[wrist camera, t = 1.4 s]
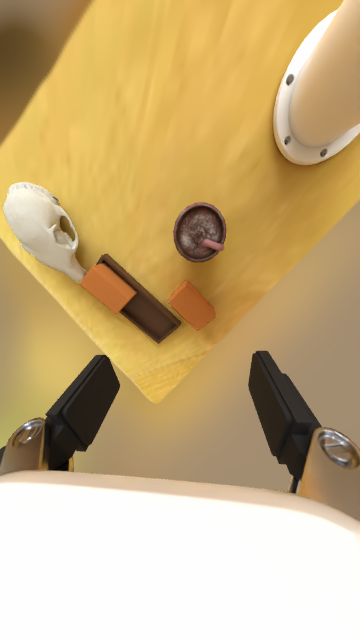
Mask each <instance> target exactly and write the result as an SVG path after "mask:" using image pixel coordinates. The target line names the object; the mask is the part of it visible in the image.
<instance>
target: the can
mask: <svg viewBox="0 0 360 640" xmlns="http://www.w3.org/2000/svg"><path fill="white" fill-rule="evenodd" d="M173 233H174V242H175V245H176V248H177V250H178V251H179V253H180V254H181V256H183V257H184V258H185V259H187V260H189V261H192V262H205V261H208V260H210V259H212V258H213V257H214V256H216V255H217V254H218V252H219V251H222V250H223V249H224V246H223V244H224V241H225V239H226V224H225V219H224V218H223V216H222V214H221V212H220V211H219V210H218V209H217V208H216V207H214V206H213V205H211V204H208V203H205V202H204V203H194V204H192V205H190V206H188V207H186V208H185V209H184V210H183V211H182V212H181V213H180V215H179V217H178V218H177V220H176V222H175V227H174V231H173Z"/></svg>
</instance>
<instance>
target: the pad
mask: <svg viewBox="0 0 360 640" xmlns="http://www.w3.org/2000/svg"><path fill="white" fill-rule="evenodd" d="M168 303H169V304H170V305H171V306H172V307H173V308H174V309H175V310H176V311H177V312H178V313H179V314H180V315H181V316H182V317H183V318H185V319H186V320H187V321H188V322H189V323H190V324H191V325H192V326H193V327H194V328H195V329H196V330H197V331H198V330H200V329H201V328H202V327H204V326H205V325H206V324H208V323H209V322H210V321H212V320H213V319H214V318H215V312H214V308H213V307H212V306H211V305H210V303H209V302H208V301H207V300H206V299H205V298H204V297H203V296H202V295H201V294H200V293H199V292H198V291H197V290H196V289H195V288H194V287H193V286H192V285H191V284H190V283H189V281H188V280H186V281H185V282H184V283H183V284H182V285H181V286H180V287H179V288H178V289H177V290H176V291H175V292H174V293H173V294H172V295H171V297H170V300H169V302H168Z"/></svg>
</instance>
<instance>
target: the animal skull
mask: <svg viewBox="0 0 360 640" xmlns="http://www.w3.org/2000/svg"><path fill="white" fill-rule="evenodd" d="M7 193H8V195H7V199H6V201H5V204H4V214H5V217H6V220H7V222H8V224H9V226H10V227H11V229H12V231H13V232H14V234H15V235H16V237H17V238H18V239H19V241H20V242H21V243H22V244H21V245H20V246H21V247H22V248H23V249H24V250H25V251H26V252H28V253H29V254H32V255H33V256H35V258H36V259H37V260H38V261H39V262H41V263H42V264H44V265H46V266H48V267H51V268H53V269H55V270H57V271H60V272H62V273H64V274H66V275H67V276H68V277H70V278H71V279H72V280H73V281H75V282H81V281H82V280H83V278H84V276H85V274H87V272H88V271H85V269H83V268H82V267H81V266H80V265H79V263H78V261H77V259H76V257H75V255H76V254H77V253H76V249H77V247H78V243H79V237H78V234H77V232H76V229H75V227H74V225H73V223H72V221H71V219H70V218H69V216H68V215H67V213H66V212H65V211H64V210H63V209H62V208H61V206H60V203H59V200H58V199H57V198H56V197H55V196H54V195H53V194H52V193H51V192H49V191H48V190H46V189H44V188H43V187H41V186H38V185H34V184H32V183H28V182H21V183H16V184H13V185H11V186H10V188H9V189H8V192H7ZM61 216H65V217H66V218H67V220H68V221H69V223H70V226H71V228H72V229H73V231H74V233H75V240H74V242H73V240H72V239H71V237H70V236H68V234H67V233H66V232H62V229H61V228H60V218H61Z"/></svg>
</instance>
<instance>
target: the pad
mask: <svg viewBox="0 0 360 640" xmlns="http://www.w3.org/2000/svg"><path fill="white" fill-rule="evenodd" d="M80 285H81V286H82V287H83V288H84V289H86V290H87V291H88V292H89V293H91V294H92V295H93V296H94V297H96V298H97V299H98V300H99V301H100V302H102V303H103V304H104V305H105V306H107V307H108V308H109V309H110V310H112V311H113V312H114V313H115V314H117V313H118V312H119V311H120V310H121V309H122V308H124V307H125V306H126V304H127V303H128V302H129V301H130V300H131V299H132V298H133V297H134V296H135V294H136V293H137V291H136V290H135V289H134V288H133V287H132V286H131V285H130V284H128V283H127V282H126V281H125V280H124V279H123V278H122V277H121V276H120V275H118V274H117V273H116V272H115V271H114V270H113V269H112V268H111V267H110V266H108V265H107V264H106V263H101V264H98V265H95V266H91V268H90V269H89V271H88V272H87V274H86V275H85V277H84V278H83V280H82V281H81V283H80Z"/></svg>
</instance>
